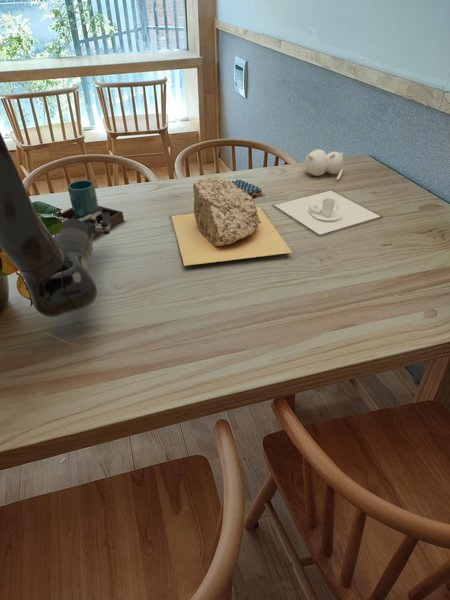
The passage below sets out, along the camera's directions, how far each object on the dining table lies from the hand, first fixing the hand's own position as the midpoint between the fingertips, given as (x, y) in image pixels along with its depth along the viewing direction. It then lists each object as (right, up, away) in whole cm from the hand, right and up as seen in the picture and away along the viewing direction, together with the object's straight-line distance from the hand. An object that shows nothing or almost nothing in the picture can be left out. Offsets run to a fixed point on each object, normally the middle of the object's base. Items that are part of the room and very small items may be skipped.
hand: (78, 211), depth 102 cm
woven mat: (+37, +10, +28) cm, 47 cm away
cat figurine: (+64, +19, +38) cm, 77 cm away
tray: (-2, -1, +13) cm, 13 cm away
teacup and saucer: (+60, +4, +18) cm, 63 cm away
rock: (+34, -5, +7) cm, 35 cm away
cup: (-2, 0, +13) cm, 13 cm away
